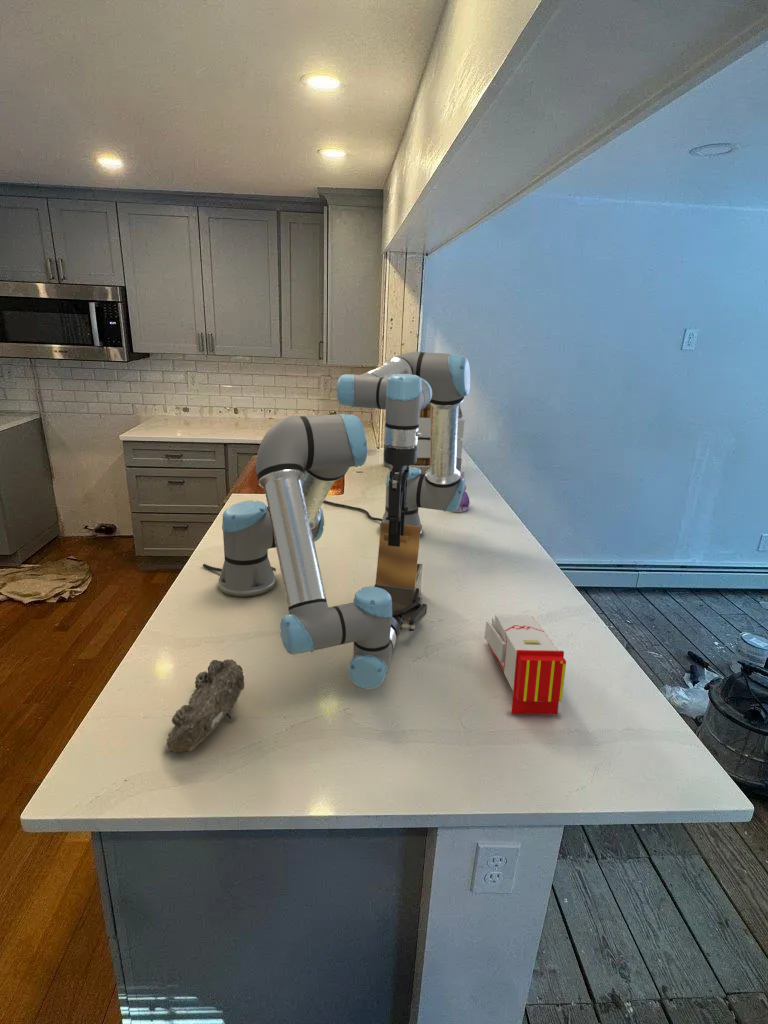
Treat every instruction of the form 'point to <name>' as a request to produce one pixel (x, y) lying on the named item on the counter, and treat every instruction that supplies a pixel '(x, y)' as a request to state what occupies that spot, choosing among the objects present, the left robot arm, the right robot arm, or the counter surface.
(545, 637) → the toy
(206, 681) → the fossil
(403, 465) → the right robot arm
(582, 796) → the counter surface
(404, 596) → the chest
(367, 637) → the left robot arm
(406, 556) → the lid
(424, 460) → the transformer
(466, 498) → the figurine
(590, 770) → the counter surface
